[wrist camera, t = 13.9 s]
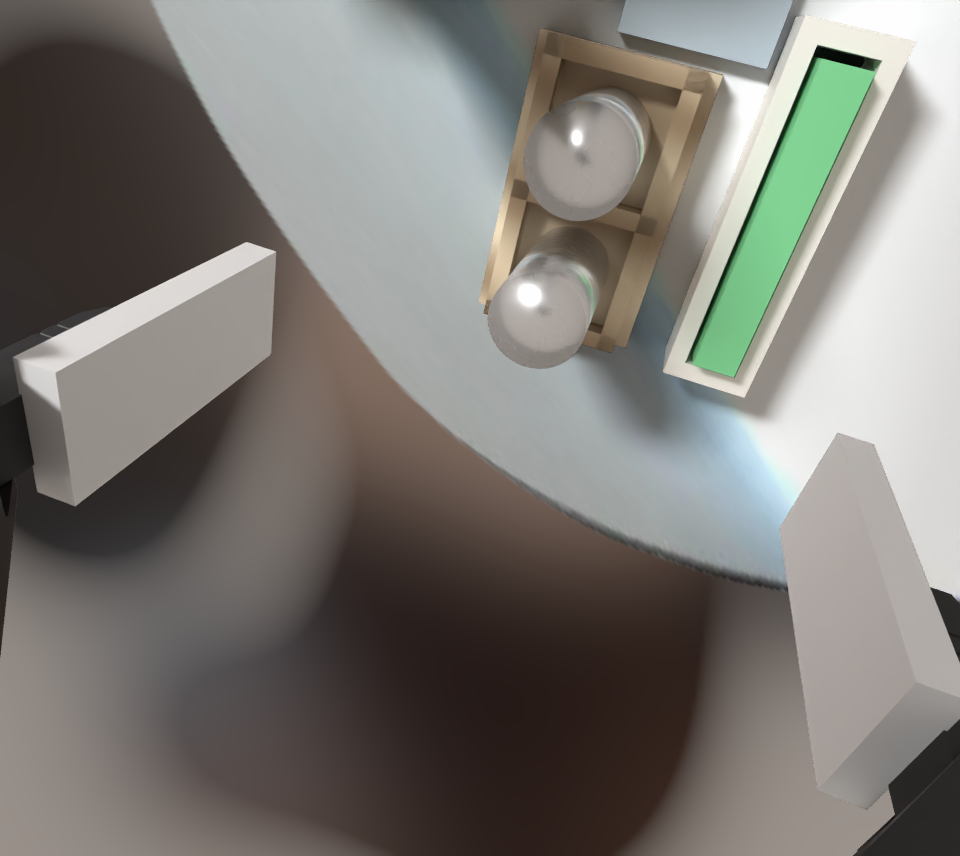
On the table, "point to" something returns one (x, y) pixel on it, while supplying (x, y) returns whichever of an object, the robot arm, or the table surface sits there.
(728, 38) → the pad
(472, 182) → the table surface
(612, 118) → the cylinder
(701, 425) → the table surface
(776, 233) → the green rectangular bar
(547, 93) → the wooden divided tray
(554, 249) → the billet
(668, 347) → the housing
